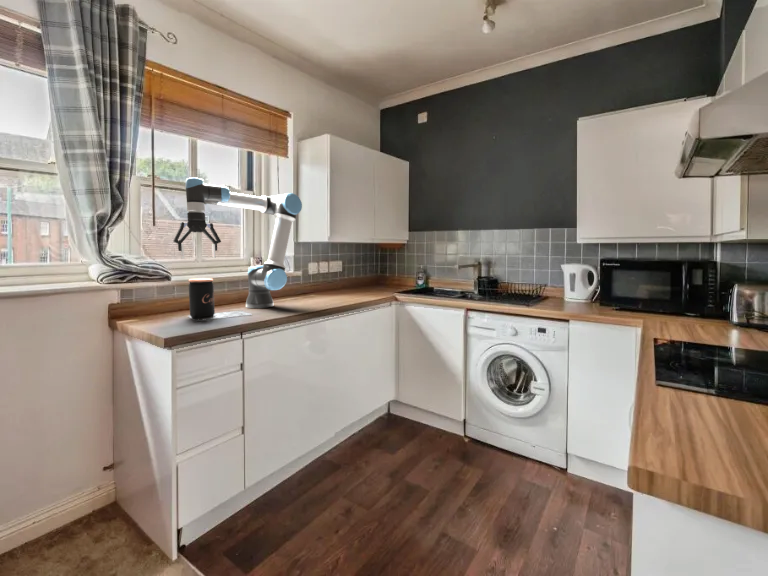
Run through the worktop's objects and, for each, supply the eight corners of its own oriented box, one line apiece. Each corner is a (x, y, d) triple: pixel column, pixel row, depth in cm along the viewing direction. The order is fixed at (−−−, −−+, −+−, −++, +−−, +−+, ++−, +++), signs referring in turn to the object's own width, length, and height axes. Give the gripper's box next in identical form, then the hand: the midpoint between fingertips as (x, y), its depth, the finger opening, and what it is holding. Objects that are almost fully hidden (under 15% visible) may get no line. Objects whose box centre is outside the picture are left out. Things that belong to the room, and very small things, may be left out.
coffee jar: (205, 319, 179) (203, 280, 178) (185, 318, 182) (183, 279, 180) (219, 315, 190) (217, 278, 188) (200, 314, 192) (198, 278, 190)
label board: (241, 311, 205) (241, 310, 205) (252, 315, 192) (252, 314, 192) (187, 316, 189) (187, 315, 189) (195, 320, 176) (195, 320, 176)
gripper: (221, 214, 191) (223, 257, 194) (164, 211, 176) (167, 258, 178) (226, 213, 185) (228, 257, 188) (167, 210, 170) (170, 258, 172)
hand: (198, 258), depth 183 cm, fingers open, 13 cm apart
